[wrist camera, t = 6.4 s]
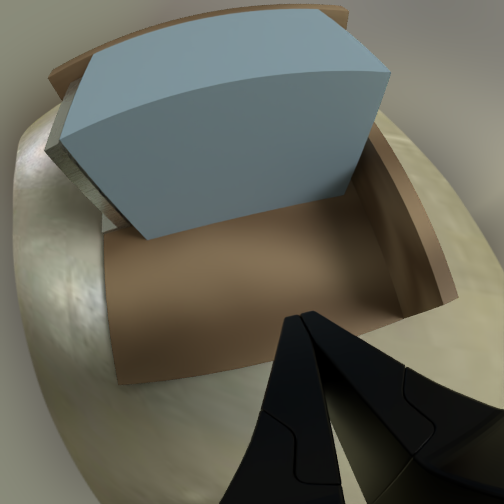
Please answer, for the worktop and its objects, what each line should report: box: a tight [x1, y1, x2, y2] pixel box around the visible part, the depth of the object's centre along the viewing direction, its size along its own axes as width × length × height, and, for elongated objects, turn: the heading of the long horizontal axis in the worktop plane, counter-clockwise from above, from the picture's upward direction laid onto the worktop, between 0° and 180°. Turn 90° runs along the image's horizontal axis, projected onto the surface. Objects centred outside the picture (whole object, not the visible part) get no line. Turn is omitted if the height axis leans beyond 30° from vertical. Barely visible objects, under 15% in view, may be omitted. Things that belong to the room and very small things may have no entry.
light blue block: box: [60, 9, 391, 240], centre depth 13 cm, size 7×12×9 cm, turn 103°
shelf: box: [48, 4, 459, 385], centre depth 12 cm, size 16×17×10 cm
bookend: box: [44, 77, 131, 234], centre depth 13 cm, size 6×2×8 cm, turn 13°
